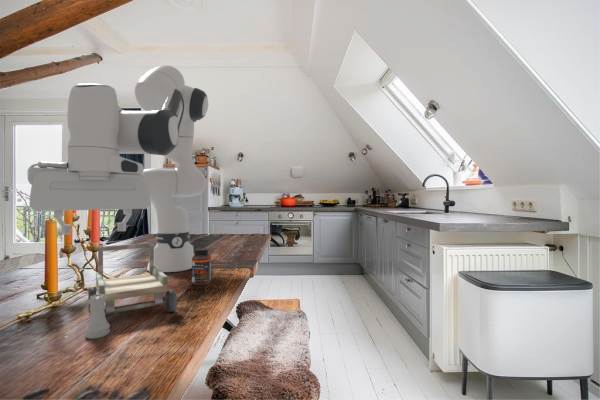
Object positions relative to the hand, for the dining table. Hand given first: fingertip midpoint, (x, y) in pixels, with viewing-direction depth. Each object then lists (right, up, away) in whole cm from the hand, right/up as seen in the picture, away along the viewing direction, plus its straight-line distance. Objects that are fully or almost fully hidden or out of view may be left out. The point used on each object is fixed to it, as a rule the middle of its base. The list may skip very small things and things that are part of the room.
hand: (95, 232), depth 65 cm
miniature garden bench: (-1, -21, +15) cm, 25 cm away
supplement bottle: (+10, -21, +39) cm, 45 cm away
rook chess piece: (0, -21, 0) cm, 21 cm away
